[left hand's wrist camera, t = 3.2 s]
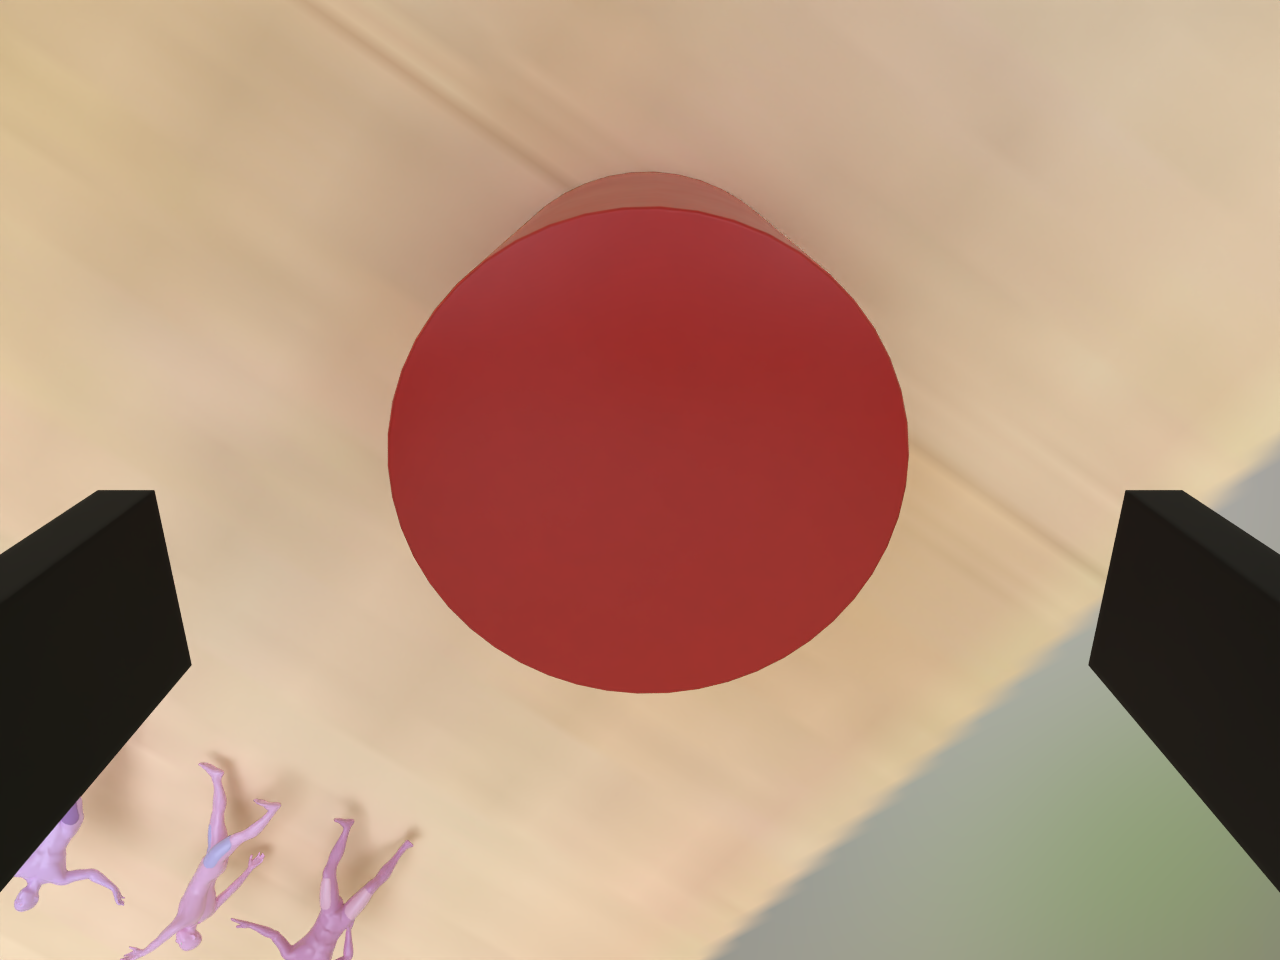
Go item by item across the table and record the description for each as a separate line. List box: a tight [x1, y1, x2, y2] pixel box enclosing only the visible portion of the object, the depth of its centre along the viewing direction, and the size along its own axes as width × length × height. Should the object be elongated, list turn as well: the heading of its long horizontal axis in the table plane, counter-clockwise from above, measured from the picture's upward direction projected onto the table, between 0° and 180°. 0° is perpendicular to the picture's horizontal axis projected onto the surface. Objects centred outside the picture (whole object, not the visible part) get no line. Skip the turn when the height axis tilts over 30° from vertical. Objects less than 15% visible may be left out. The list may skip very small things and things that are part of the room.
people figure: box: [14, 763, 413, 960], centre depth 28 cm, size 18×6×8 cm
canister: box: [388, 172, 909, 693], centre depth 19 cm, size 9×9×9 cm
